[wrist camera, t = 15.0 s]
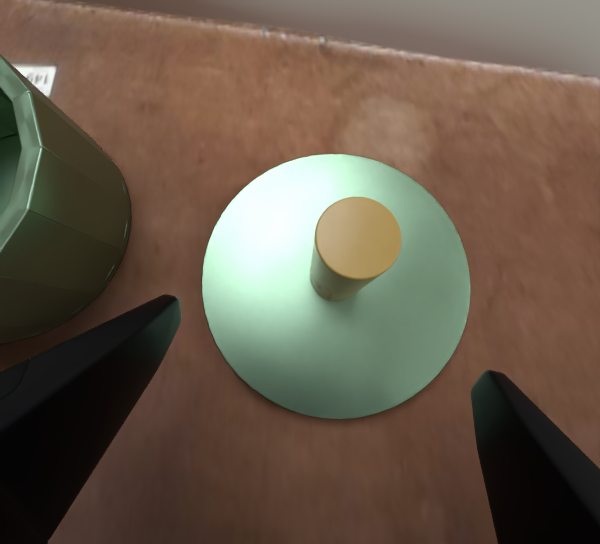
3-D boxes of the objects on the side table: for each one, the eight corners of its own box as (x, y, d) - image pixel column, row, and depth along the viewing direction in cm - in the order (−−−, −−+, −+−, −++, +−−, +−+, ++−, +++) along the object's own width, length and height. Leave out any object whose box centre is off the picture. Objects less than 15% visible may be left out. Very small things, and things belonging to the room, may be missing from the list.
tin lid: (437, 445, 15) (571, 559, 8) (173, 373, 16) (57, 412, 8) (476, 193, 17) (607, 90, 10) (247, 141, 18) (208, 9, 11)
